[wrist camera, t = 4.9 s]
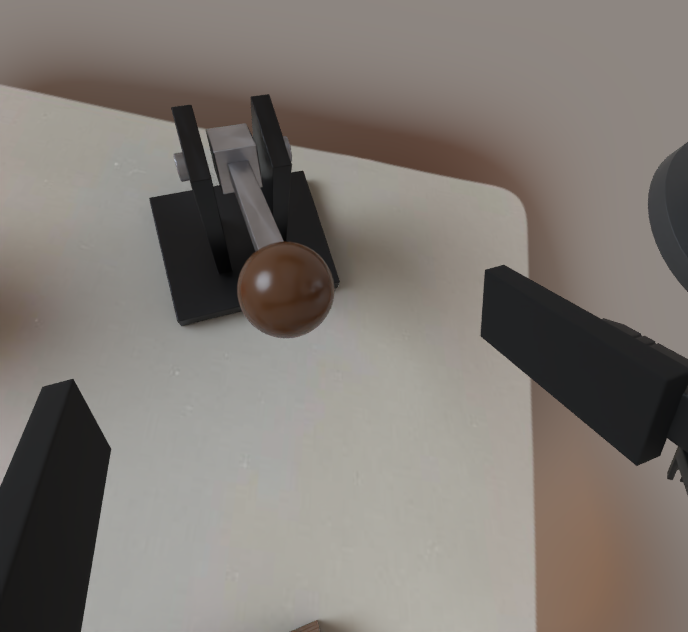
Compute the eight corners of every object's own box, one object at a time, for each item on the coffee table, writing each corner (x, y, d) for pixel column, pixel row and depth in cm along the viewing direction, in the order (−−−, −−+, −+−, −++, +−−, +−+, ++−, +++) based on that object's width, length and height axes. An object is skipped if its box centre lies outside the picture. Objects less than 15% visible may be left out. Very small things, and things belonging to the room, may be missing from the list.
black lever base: (337, 287, 34) (374, 199, 22) (180, 326, 31) (123, 250, 19) (302, 178, 36) (317, 45, 24) (153, 206, 33) (85, 70, 21)
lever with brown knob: (347, 343, 17) (348, 272, 14) (256, 368, 16) (238, 299, 13) (266, 171, 26) (257, 109, 23) (205, 182, 25) (188, 119, 22)
